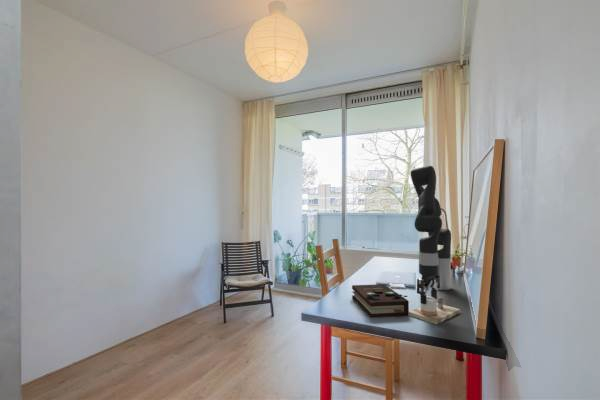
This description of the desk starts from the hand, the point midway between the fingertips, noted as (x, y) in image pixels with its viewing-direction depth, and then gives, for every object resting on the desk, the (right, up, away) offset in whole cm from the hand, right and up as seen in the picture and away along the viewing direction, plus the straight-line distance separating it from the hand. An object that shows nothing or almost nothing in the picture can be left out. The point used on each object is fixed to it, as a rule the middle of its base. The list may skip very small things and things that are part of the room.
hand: (428, 301), depth 121 cm
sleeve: (0, -5, 0) cm, 5 cm away
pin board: (+4, -6, +3) cm, 8 cm away
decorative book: (-18, -7, +13) cm, 23 cm away
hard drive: (+2, -8, +46) cm, 46 cm away
